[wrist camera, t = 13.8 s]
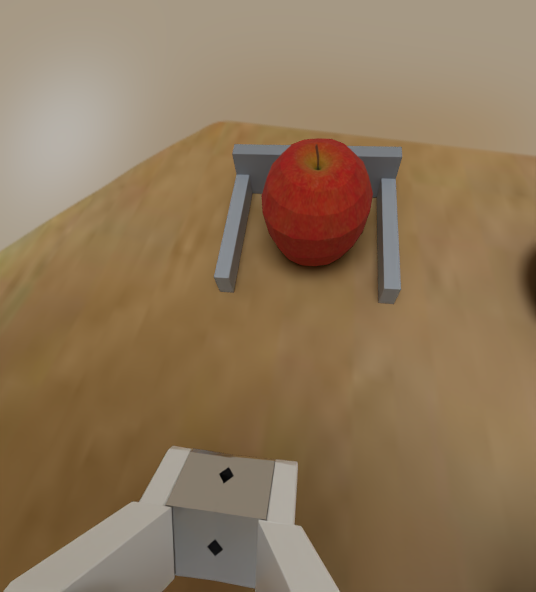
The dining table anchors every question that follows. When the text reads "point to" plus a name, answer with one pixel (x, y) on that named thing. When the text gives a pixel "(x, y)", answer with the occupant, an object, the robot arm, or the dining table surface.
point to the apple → (316, 201)
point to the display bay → (251, 179)
